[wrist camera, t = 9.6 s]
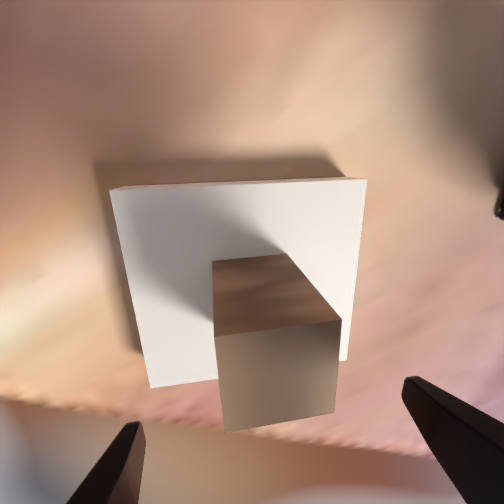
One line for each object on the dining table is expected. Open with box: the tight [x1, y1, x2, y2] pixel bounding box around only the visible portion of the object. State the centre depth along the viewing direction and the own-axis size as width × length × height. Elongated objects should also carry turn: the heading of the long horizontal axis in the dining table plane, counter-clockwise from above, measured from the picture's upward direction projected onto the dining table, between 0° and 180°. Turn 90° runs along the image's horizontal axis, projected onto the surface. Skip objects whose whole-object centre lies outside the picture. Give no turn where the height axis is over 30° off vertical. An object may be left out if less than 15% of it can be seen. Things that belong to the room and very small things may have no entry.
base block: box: [109, 177, 367, 388], centre depth 17 cm, size 14×13×2 cm
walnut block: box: [212, 254, 342, 433], centre depth 13 cm, size 4×4×7 cm
